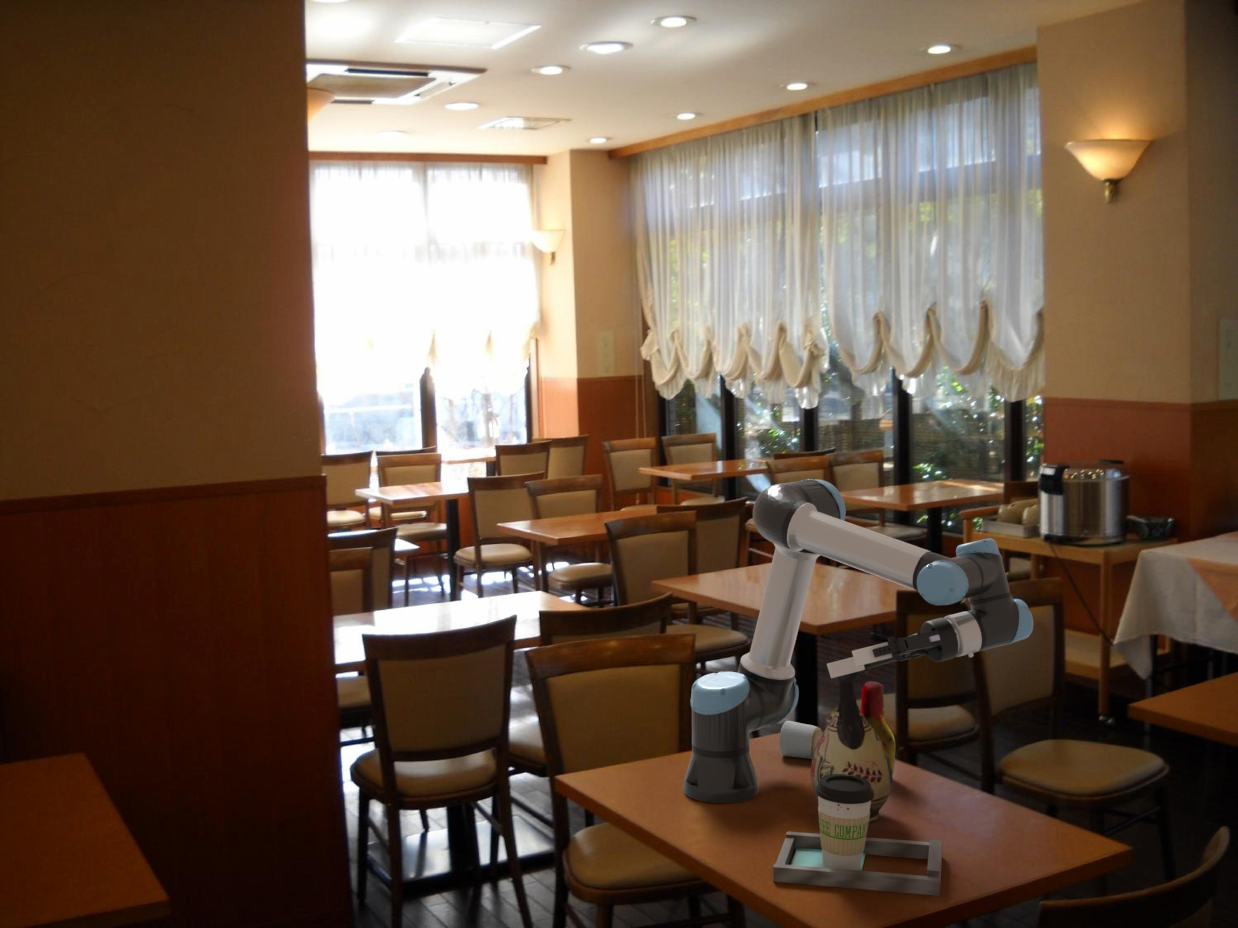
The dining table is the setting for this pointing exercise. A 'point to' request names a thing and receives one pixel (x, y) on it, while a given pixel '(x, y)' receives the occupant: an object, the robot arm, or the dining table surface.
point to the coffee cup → (843, 819)
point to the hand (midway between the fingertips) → (841, 664)
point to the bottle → (877, 716)
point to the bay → (812, 872)
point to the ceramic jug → (853, 748)
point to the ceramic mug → (799, 739)
